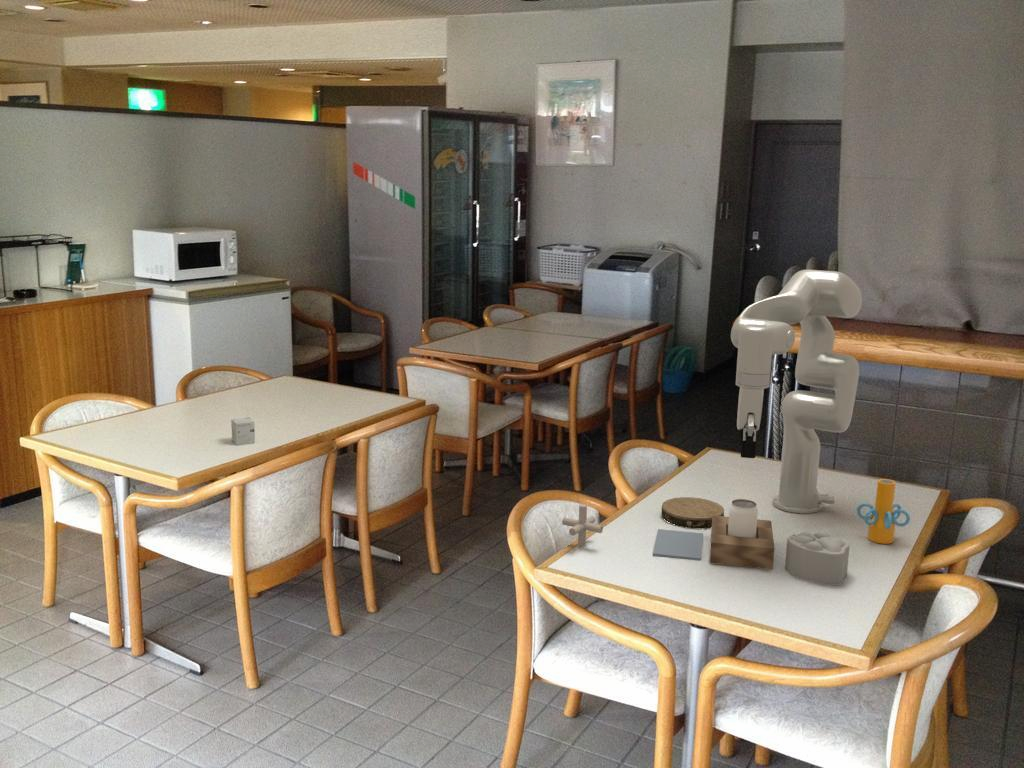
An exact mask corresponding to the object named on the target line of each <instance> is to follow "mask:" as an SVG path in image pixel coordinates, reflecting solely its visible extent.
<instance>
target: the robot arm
mask: <svg viewBox="0 0 1024 768" xmlns="http://www.w3.org/2000/svg"><path fill="white" fill-rule="evenodd" d="M862 305H863V294H862V292H861V290H860V287H859V286H858V285H857V284H856V283H855V282H854V280H853V279H852V278H850V277H849V275H847V274H845V273H844V272H840V271H836V270H835V271H834V270H821V269H819V270H818V269H802V270H799V271H797V272H795V273H794V274H793V275H792V276H791V278H790V279H789V280H788V281H787V283H786V284H785V285H784V286H783V287H782V289H781V291H780V292H779V293H778V294H777V295H774V296H770V297H767V298H765V299H763V300H759V301H757V302H755V303H751V304H750V305H748V306H747V307H746V308H744V309H743V311H742V312H741V313H740V315H739V316H737V318H736V319H735V321H734V323H733V325H732V327H731V331H730V340H731V343H732V344H733V346H734V347H735V348H737V358H736V371H735V374H736V375H735V386H737V387H739V390H738V391H739V393H738V403H737V416H736V417H737V418H736V428H737V430H738V431H740V446H741V447H740V457H741V458H742V459H743V458H744V459H745V458H746V459H755V458H756V453H757V440H756V439H757V432H758V431H759V430H760V425H761V420H762V413H763V403H764V392H765V391H764V390H765V389H768V388H770V384H771V383H770V382H771V373H772V372H771V370H772V359H773V355H783V354H785V353H787V352H789V351H790V350H791V349H792V347H793V346H794V344H795V341H796V333H795V330H794V328H793V327H792V326H791V325H796V324H798V323H799V324H800V330H801V333H800V342H799V346H798V351H797V352H798V353H797V358H796V364H795V371H794V378H795V380H796V382H797V383H799V384H800V385H802V386H808V387H811V388H812V387H813V388H819V389H826V390H833V391H834V393H835V394H829V393H821V392H818V391H817V392H816V391H810V390H803V389H800V390H799V389H798V390H793V391H790V392H788V393H787V394H785V396H784V398H783V400H782V404H781V409H782V410H781V411H782V413H781V414H782V421H783V438H782V439H783V442H782V452H781V454H782V455H781V462H780V463H781V465H780V478H779V490H778V491H779V492H778V495H775V496H774V497H772V500H771V501H772V502H771V503H772V506H774V507H775V508H777V509H778V510H780V511H781V510H782V511H785V512H788V513H796V514H813V513H817V512H819V511H820V510H821V509H822V503H824V504H831V505H833V504H834V503H835V496H830V495H829V494H828V493H820V492H818V488H817V487H818V476H819V464H820V456H821V455H820V454H821V442H820V438H819V436H818V434H817V433H816V431H815V430H818V431H824V432H831V433H844V432H846V431H847V430H848V428H850V427H849V426H850V424H851V421H852V417H853V413H854V407H855V401H856V396H857V390H858V385H859V378H860V365H859V362H858V360H857V359H856V357H855V356H852V355H849V354H845V353H838V352H834V345H835V339H836V331H835V329H834V327H833V325H832V324H831V322H830V320H829V319H828V318H827V317H829V318H841V319H852V318H854V317H856V316H857V315H858V314H859V313H860V311H861V308H862Z"/></svg>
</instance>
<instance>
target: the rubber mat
mask: <svg viewBox="0 0 1024 768" xmlns="http://www.w3.org/2000/svg"><path fill="white" fill-rule="evenodd" d="M703 537H704V536H703V533H702V532H694V531H693V532H691V531H683V530H682V531H681V530H670V529H663V528H658V529H657V532H656V537H655V542H654V547H653V552H652V557H664V558H675V559H683V560H692V561H693V560H694V561H701V560H702V548H703V539H704V538H703Z"/></svg>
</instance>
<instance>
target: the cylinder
mask: <svg viewBox="0 0 1024 768" xmlns="http://www.w3.org/2000/svg"><path fill="white" fill-rule="evenodd" d="M895 490H896V481H895V480H892V479H889V478H880V479H878V480H877V486H876V492H875V493H876V496H875V504H874V506H873V505H872V504H870V503H868V502H863V503H860V504H858V506H857V508H856V513H857V516H858V517H859V518H860V519H862V520H864V523H865V524H866V525H867V526H868V529H867V530H868V531H867V539H868V540H869V541H871V542H874V543H876V544H883V545H887V544H892V543H893V542H894V540H895V531H896V526H897V527H904V526H907V525H908V524H909V523H910V521H911V516H910V514H909V512H908V511H907V510H904V509H902V507H901V505H900V504H899V503H894V501H895V492H896V491H895ZM863 507H867V508H869V509H868V510H867V511H866V513H865V515H863V514H862V513H861V509H862V508H863ZM894 508H897V509H895V510H894ZM901 514H904V515H905V518H906V520H905V521H904V522H898V521H897V520H898V519H899V518H900V516H901Z"/></svg>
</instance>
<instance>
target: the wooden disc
mask: <svg viewBox="0 0 1024 768" xmlns="http://www.w3.org/2000/svg"><path fill="white" fill-rule="evenodd" d="M660 514H661V515H662V516H661V515H660V516H661V518H662V517H663V518H662V520H664V519H665V520H666V521H665V520H664V521H665V522H667V521H668V522H670V523H669V524H671V523H672V524H671V525H673V524H675V525H674V526H676V525H678V526H677V527H680V526H682V527H681V528H685V527H687V528H686V529H693V528H701V529H702V528H705V529H712V528H711V527H712V515H714V516H725V509H724V507H723V506H722V504H719V503H717V502H716V501H713V500H710V499H704V498H700V497H691V496H689V497H683V496H681V497H674V498H670V499H667V500H665V501H663V502H662V504H661V513H660ZM668 522H667V523H668ZM702 530H703V529H702Z"/></svg>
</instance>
